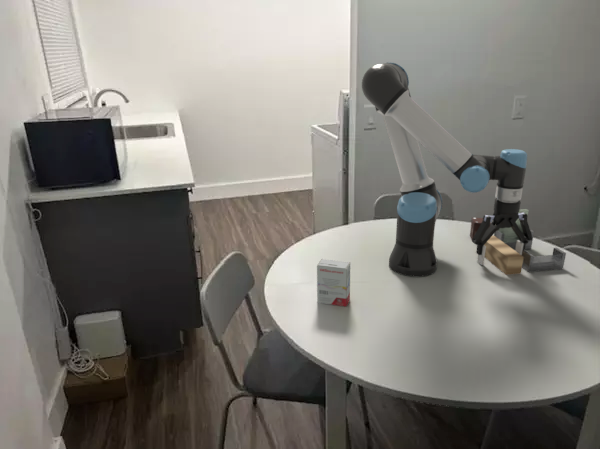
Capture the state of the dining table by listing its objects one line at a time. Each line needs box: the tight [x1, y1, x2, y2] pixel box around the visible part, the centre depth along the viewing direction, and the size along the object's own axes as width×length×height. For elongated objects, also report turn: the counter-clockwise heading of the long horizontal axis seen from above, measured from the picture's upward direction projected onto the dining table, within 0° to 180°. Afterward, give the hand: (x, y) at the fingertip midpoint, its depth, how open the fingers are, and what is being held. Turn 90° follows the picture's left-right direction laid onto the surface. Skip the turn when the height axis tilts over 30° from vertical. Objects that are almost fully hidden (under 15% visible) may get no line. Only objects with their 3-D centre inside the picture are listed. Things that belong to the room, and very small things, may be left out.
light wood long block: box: [484, 235, 523, 276], centre depth 153 cm, size 18×5×6 cm, turn 7°
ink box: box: [316, 258, 351, 307], centre depth 130 cm, size 9×5×12 cm, turn 71°
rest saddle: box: [522, 247, 567, 273], centre depth 149 cm, size 12×4×6 cm, turn 99°
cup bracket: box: [493, 208, 535, 250], centre depth 163 cm, size 12×5×13 cm, turn 99°
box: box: [469, 217, 492, 240], centre depth 172 cm, size 6×6×7 cm
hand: (498, 261), depth 154 cm, fingers open, 12 cm apart
